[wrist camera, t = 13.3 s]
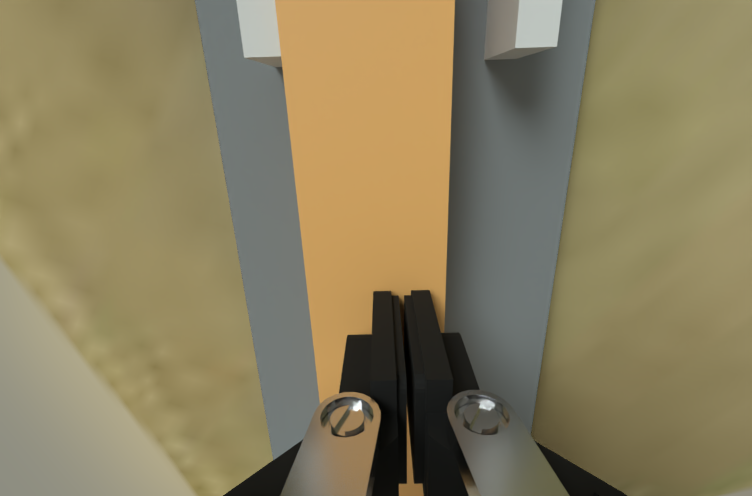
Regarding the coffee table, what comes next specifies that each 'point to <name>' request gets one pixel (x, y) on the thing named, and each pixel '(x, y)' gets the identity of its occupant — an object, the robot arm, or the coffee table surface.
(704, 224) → the coffee table surface
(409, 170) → the slat
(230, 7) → the cap board
